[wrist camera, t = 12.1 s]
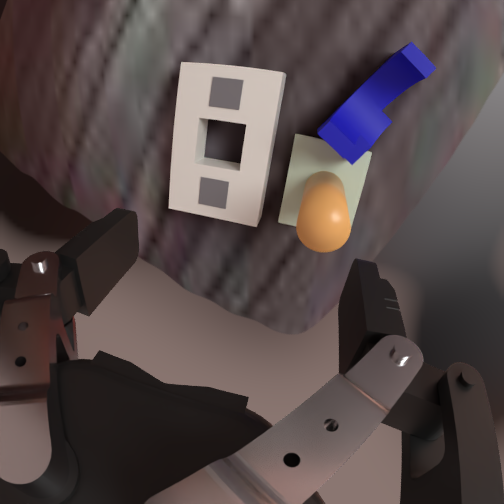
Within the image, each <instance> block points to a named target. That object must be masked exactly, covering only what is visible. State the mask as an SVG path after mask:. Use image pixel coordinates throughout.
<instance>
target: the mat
mask: <svg viewBox="0 0 504 504" xmlns="http://www.w3.org/2000/svg"><path fill="white" fill-rule="evenodd" d="M371 155H372V153H371V152H370V151H366V152H365V153H364V154H363V155H362V156H361V157H360V158H359V159H358V160H357V161H356V162H355V163H354V164H353V165H351V164H350V163H349V162H348V161H347V160H346V159H345V158H344V159H343V158H342V157H341V156H340V155H339V154H338V153H337V152H336V151H335V150H334V149H333V148H332V147H331V146H330V145H329V144H328V143H327V142H326V141H325V140H323V139H319V138H314V137H310V136H305V135H301V134H295V139H294V144H293V149H292V155H291V160H290V165H289V170H288V175H287V180H286V185H285V190H284V195H283V200H282V205H281V210H280V215H279V220H278V222H279V223H283V224H288V225H292V226H296V223H297V219H298V214H299V210H300V206H301V201H302V197H303V192H304V188H305V184H306V181H307V180H308V178H309V177H310V176H311V175H313V174H314V173H316V172H320V171H328V172H331V173H334V174H335V175H337V176H338V177H339V178H340V179H341V181H342V183H343V186H344V191H345V196H346V201H347V207H348V212H349V218H350V224H351V226H352V223H353V219H354V216H355V213H356V209H357V206H358V202H359V199H360V195H361V192H362V188H363V185H364V181H365V177H366V174H367V170H368V166H369V162H370V158H371Z"/></svg>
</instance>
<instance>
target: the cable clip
mask: <svg viewBox="0 0 504 504" xmlns="http://www.w3.org/2000/svg"><path fill="white" fill-rule="evenodd" d="M435 69H436V67H435V66H434V65H433V64H432V63H431V62H430V61H429V60H428V58H427V57H426V56H425V55H424V54H423V53H422V52H421V51H420V50H419V49H418V48H417V47H416V46H415V45H414V44H413V43H412V42H411V43H409V44H408V45H406V46H404V47H403V48H401V49H400V50H398V51H397V52H395V53H394V54H393V55H392V56H391V57H390V58H389V59H388V60H387V61H386V62H385V63H384V64H383V65H382V66H381V67H380V68H379V69H378V70H376V71H375V72H374V73H373V74H372V75H371V76H370V77H369V78H368V79H367V80H366V81H365V82H364V83H363V84H362V85H361V86H360V87H359V88H358V89H357V90H356V91H355V92H354V93H353V94H352V95H351V96H350V97H349V98H348V99H347V100H346V101H345V102H344V103H343V104H342V105H341V106H340V107H339V108H338V109H337V110H336V111H335V112H334V113H333V114H332V115H331V116H330V117H329V118H328V119H327V120H326V121H325V122H324V123H323V124H322V125H321V126H320V127H319V128H318V129H317V134H318V135H319V136H321V137H322V138H323V139H324V140H325V141H326V142H327V143H328V144H329V145H330V146H331V147H332V148H333V149H334V150H335V151H336V152H337V153H338V154H339V155H340V156H341V157H342V158H343V159H344V158H345V159H346V160H347V161H348V162H349V163H350V164H351V165H353V164H354V163H355V162H356V161H357V160H358V159H359V158H360V157H361V156H362V155H363V154H364V153H365V152H366V151H368V150H369V149H370V148H371V147H372V145H373V144H374V142H375V141H376V140H377V138H378V137H379V136H380V135H381V133H382V132H383V131H384V130H385V129H386V128H387V127H388V126H389V125H390V124H391V123H392V121H391V120H390V119H389V118H388V117H387V116H386V115H385V114H384V113H383V112H382V110H383V109H384V108H385V107H386V106H387V105H388V104H389V103H390V102H392V101H393V100H394V99H395V98H396V97H397V96H399V95H400V94H401V93H402V92H404V91H405V90H406V89H408V88H409V87H410V86H412V85H413V84H415V83H417V82H419V81H420V80H423V79H425V78H427V77H428V76H429V75H430V74H431V73H432V72H433V71H434V70H435Z"/></svg>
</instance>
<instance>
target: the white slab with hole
mask: <svg viewBox="0 0 504 504" xmlns="http://www.w3.org/2000/svg"><path fill="white" fill-rule="evenodd" d="M285 79H286V74H285V73H283V72H277V71H270V70H263V69H256V68H248V67H240V66H230V65H220V64H207V63H190V62H181V69H180V76H179V84H178V93H177V102H176V111H175V122H174V133H173V145H172V158H171V173H170V191H169V208H170V209H175V210H180V211H184V212H189V213H194V214H199V215H203V216H208V217H213V218H217V219H222V220H226V221H231V222H236V223H240V224H245V225H249V226H254V227H257V225H258V223H259V221H260V218H261V216H262V210H263V205H264V199H265V193H266V188H267V182H268V176H269V171H270V165H271V159H272V153H273V148H274V142H275V136H276V131H277V125H278V119H279V114H280V108H281V102H282V96H283V91H284V85H285ZM208 119H213V120H220V121H227V122H234V123H241V124H246V131H245V137H244V144H243V151H242V158H241V164H240V163H235V162H229V161H224V160H218V159H212V158H206V157H204V153H205V143H206V135H207V126H208Z"/></svg>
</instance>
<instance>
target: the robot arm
mask: <svg viewBox="0 0 504 504" xmlns="http://www.w3.org/2000/svg"><path fill="white" fill-rule="evenodd" d="M138 252H139V240H138V220H137V214H136V212H134V211H130V210H125V209H120V208H116V209H114V210H113V211H112V212H110V213H109V214H108V215H106V216H105V217H104V218H102V219H100V220H97V221H95V222H92V223H91V224H89V225H88V226H87V227H86V228H84V229H83V231H81V232H79V233H78V234H77V235H76V236H74V237H73V238H72V239H71V240H70V241H68V242H67V243H66V244H65V245H63V246H62V247H61V248H60V249H58V250H57V251H56V252H55V253H54V252H50V251H43V252H38V253H35V254H32V255H30V256H29V257H28V258H26V259H25V260H24V261H23V263H22V264H19V263H10V261H9V257H8V254H7V252H6V251H5V250H3V249H0V504H325V502H324V501H323V499H322V498H321V496H320V495H319V493H318V492H317V490H318V489H319V488H320V487H321V486H322V485H323V484H324V483H325V482H326V481H327V480H328V479H329V478H330V477H331V476H332V475H333V474H334V473H335V472H336V471H337V470H338V469H339V468H340V467H341V466H342V465H343V464H344V463H345V462H346V461H347V460H348V459H349V458H350V457H351V456H352V455H353V454H354V452H355V451H356V450H357V449H358V448H359V447H360V446H361V445H362V444H363V443H364V442H365V440H366V439H367V438H368V437H369V436H370V435H371V433H372V432H373V431H374V430H375V428H376V427H377V426H378V425H379V424H380V423H383V424H386V425H388V426H391V427H393V428H396V429H399V430H401V431H402V473H401V498H400V504H504V491H503V481H502V472H501V463H500V456H499V450H498V445H497V438H496V433H495V428H494V423H493V418H492V413H491V409H490V405H489V400H488V396H487V392H486V388H485V385H484V381H483V379H482V377H481V375H480V374H479V372H478V371H477V370H476V369H475V368H473V367H472V366H470V365H469V364H466V363H463V362H456V363H453V364H452V365H450V367H449V368H448V369H447V370H446V372H445V371H443V370H440V369H438V368H436V367H433V366H431V365H428V364H426V363H424V362H423V355H422V353H421V351H420V349H419V348H418V346H417V345H416V344H415V343H413V342H412V341H411V340H409V339H407V337H406V333H405V328H404V324H403V320H402V316H401V312H400V311H399V309H400V308H399V305H398V302H397V297H396V293H395V290H394V289H393V287H392V286H391V285H390V283H389V282H388V281H387V280H385V279H381V278H380V277H379V272H378V268H377V265H376V263H373V262H369V261H365V260H361V259H355V260H354V261H353V263H352V266H351V269H350V272H349V275H348V277H347V280H346V283H345V286H344V289H343V291H342V294H341V297H340V301H339V308H338V320H339V374H337V375H336V376H335V377H333V378H332V379H331V380H330V381H329V382H328V383H326V384H325V385H324V386H323V387H322V388H321V389H319V390H318V391H317V392H316V393H315V394H313V395H312V396H311V397H310V398H309V399H307V400H306V401H305V402H304V403H302V404H301V405H300V406H299V407H297V408H296V409H295V410H294V411H292V412H291V413H290V414H288V415H287V416H286V417H285V418H283V419H282V420H281V421H279V422H278V423H277V424H275V425H274V426H272V424H271V423H269V422H268V421H267V420H265V419H264V418H263V417H261V416H260V415H258V414H256V413H255V412H253V411H251V410H249V409H247V408H246V406H247V402H248V397H246V396H242V395H238V394H234V393H230V392H226V391H222V390H218V389H214V388H211V387H201V386H188V385H175V384H166V383H163V382H161V381H160V380H158V379H156V378H155V377H153V376H151V375H150V374H148V373H147V372H145V371H143V370H142V369H141V368H139V367H137V366H136V365H134V364H133V363H131V362H129V361H126V360H123V359H120V358H118V357H115V356H113V355H110V354H108V353H105V352H103V351H99V352H98V353H97V354H96V356H95V357H94V359H93V360H90V359H78V349H77V337H76V323H75V318H74V315H75V314H76V312H79V313H82V314H84V315H87V316H90V315H91V314H92V312H93V311H94V310H95V309H96V307H97V306H98V305H99V304H100V303H101V301H102V300H103V299H104V298H105V297H106V295H107V294H108V293H109V292H110V290H112V288H113V287H114V286H115V285H116V283H118V281H119V280H120V279H121V278H122V277H123V276H124V274H125V273H126V272H127V271H128V270H129V269H130V268H131V266H132V265H133V264H134V263H135V261H136V259H137V257H138Z"/></svg>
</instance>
